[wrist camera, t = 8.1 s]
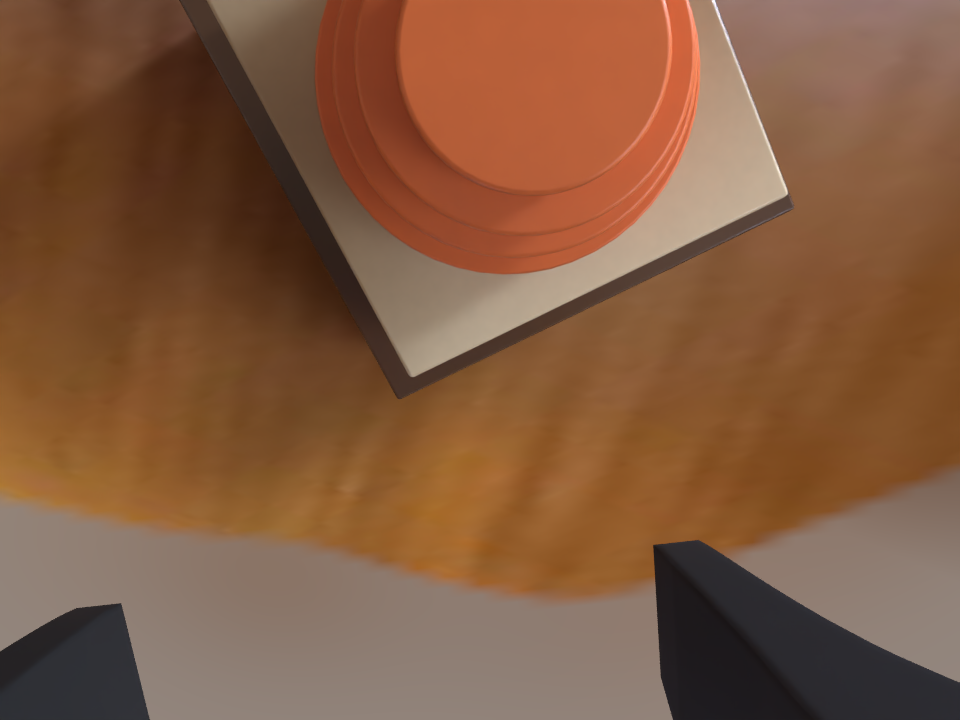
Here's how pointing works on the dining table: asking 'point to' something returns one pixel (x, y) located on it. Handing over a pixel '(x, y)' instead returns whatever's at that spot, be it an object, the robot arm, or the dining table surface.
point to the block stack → (458, 292)
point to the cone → (507, 120)
